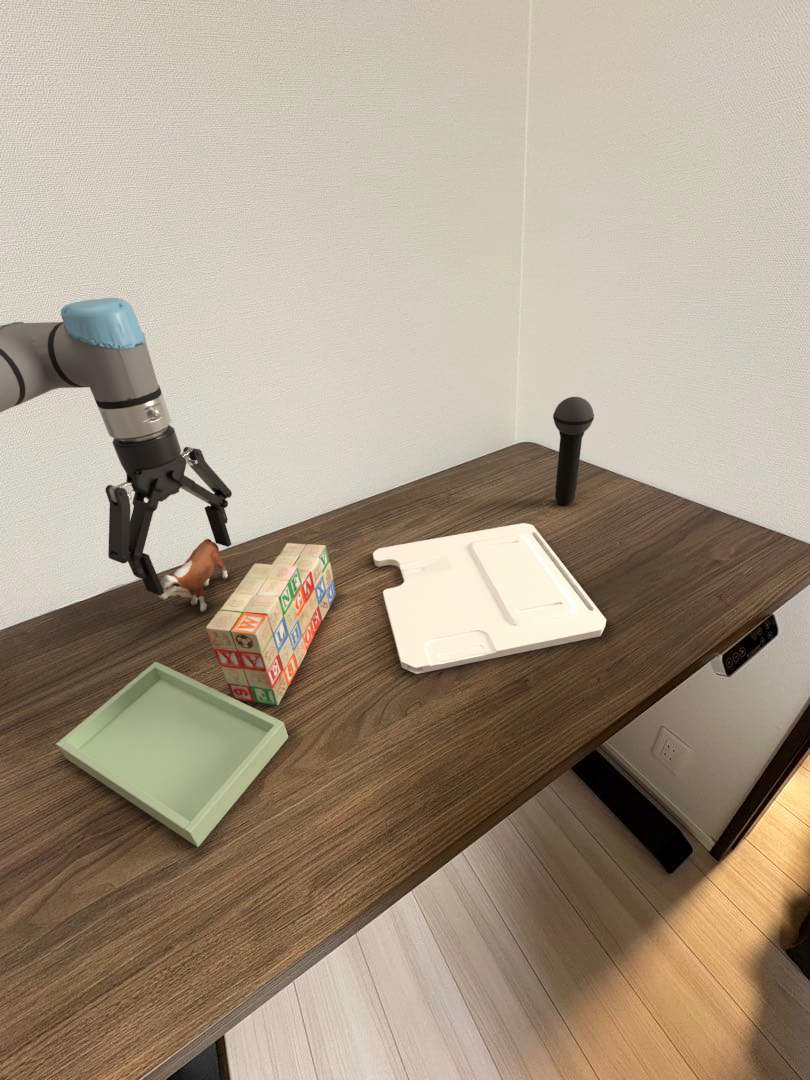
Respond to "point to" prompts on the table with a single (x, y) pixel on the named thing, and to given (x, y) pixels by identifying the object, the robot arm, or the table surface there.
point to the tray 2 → (483, 598)
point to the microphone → (570, 444)
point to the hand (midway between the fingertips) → (191, 566)
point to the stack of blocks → (272, 622)
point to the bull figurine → (194, 574)
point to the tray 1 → (175, 749)
